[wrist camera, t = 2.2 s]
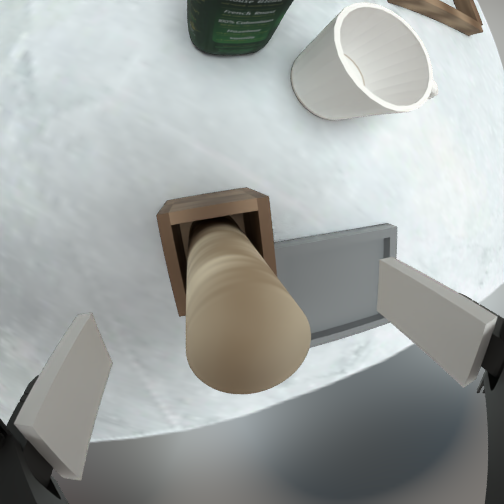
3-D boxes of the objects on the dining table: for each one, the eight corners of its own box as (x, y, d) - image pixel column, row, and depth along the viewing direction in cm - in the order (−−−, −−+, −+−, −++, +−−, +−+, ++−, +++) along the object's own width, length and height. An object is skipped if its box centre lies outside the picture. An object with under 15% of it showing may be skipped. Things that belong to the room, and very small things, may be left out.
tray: (278, 345, 32) (283, 354, 30) (268, 243, 28) (273, 248, 26) (382, 315, 34) (390, 322, 32) (387, 223, 30) (397, 226, 28)
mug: (277, 110, 24) (325, 82, 15) (293, 33, 22) (339, -16, 12) (374, 142, 27) (445, 140, 17) (384, 71, 25) (449, 50, 15)
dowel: (193, 262, 26) (201, 402, 10) (184, 214, 25) (171, 305, 9) (241, 253, 27) (311, 378, 11) (234, 206, 25) (309, 279, 9)
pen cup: (181, 275, 27) (179, 316, 20) (167, 200, 25) (156, 215, 17) (255, 262, 28) (279, 297, 21) (246, 187, 26) (268, 196, 18)
